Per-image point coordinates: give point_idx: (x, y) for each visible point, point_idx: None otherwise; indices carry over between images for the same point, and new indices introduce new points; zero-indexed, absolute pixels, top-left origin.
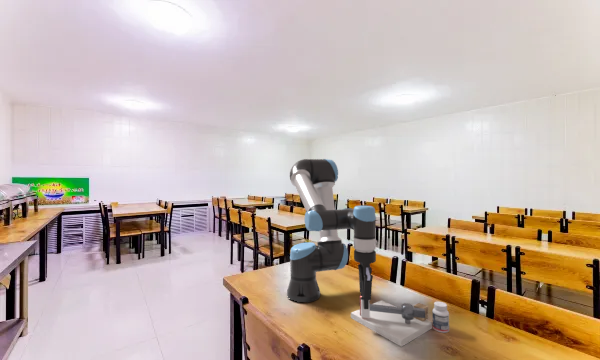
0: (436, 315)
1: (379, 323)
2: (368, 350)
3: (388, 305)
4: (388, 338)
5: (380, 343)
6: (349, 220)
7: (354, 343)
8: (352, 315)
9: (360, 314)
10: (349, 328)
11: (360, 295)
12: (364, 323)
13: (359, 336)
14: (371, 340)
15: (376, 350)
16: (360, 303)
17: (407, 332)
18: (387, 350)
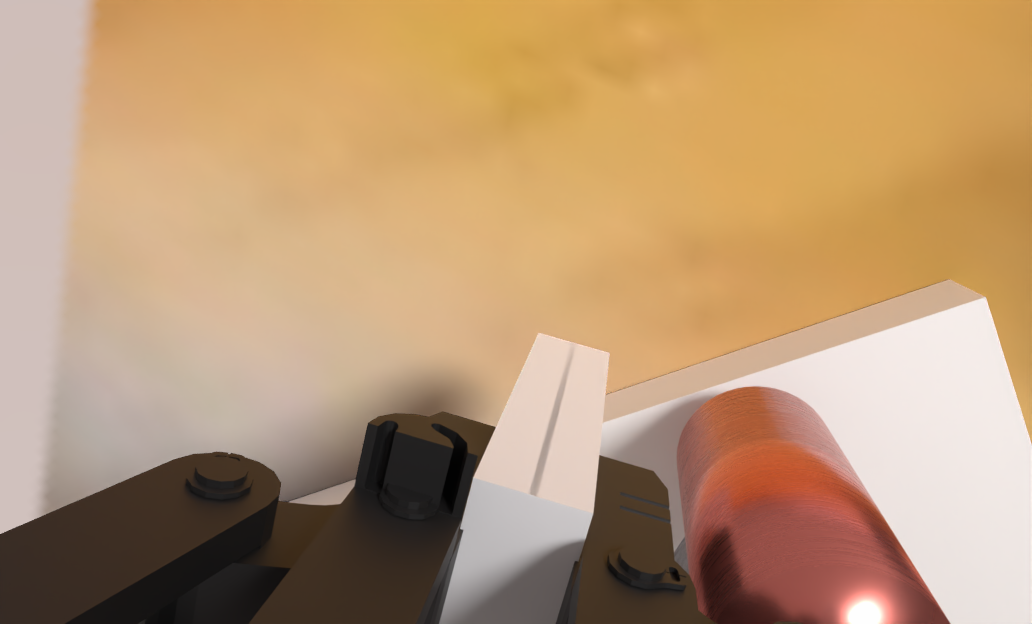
0: None
1: None
2: (144, 161)
3: None
4: (297, 502)
5: (247, 367)
6: None
7: (300, 47)
8: (930, 304)
9: (750, 393)
10: (660, 128)
11: (885, 604)
12: (663, 386)
13: (433, 184)
14: (321, 295)
15: (133, 253)
16: (780, 479)
17: None
18: (119, 372)
